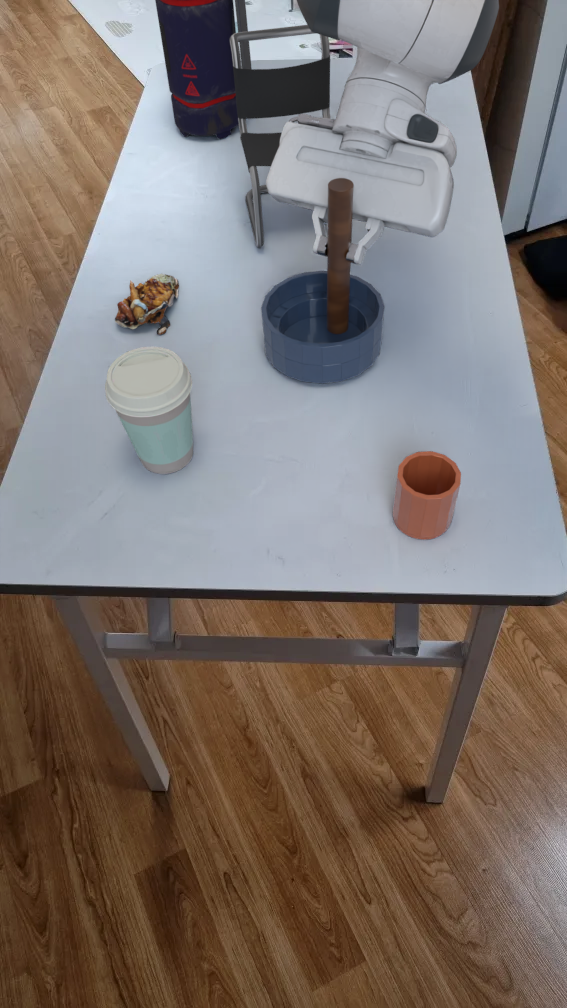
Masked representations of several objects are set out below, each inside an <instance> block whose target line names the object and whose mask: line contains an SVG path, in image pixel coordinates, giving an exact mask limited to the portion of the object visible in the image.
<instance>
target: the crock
mask: <svg viewBox="0 0 567 1008" xmlns="http://www.w3.org/2000/svg"><path fill="white" fill-rule="evenodd" d="M395 483H396V484H395V491H394V498H393V507H392V520H393V523H394V524H395V526H396V527H397V529H398V530H399V531H400V532H401V533H403V534H404V535H406V536H407V537H410V538H413V539H415V540H423V541H424V540H425V541H426V540H433V539H436V538H438V537H440V536H443V534H445V533H446V532H447V531H448V529H449V528H450V526H451V524H452V521H453V518H454V514H455V509H456V505H457V500H458V496H459V492H460V488H461V483H462V472H461V470H460V468H459V467H458V465H457V463H456V462H455V461H454V460H453V459H452V458H450V457H449V456H447V455H445V454H444V453H439V452H436V451H432V450H428V451H427V450H426V451H417V452H414V453H412V454H410V455H407V456H405V458H403V460H402V461H401V462H400V464H398V468H397V475H396V482H395Z"/></svg>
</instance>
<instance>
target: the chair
mask: <svg viewBox="0 0 567 1008" xmlns="http://www.w3.org/2000/svg"><path fill="white" fill-rule="evenodd" d="M312 34H316V33H314V32H311V30H310V28H309V26H308V25H307V24H301V25H300V24H299V25H293V26H284V27H276V28H275V27H274V28H266V29H258V30H257V29H256V30H248V31H247V32H238V31H237V32H236V33H235V34H233V35H232V36H231V37H230V45H231V51H232V59H233V71H234V82H235V93H236V104H237V115H238V122H239V124H238V129H239V135H240V137H239V138H240V142H241V146H242V150H243V154H244V159H245V162H246V166H247V171H248V173H249V178H250V184H251V185H250V186H251V189H249V190H248V192H246V194H245V199H244V200H245V204H246V209H247V212H248V218H249V222H250V226H251V230H252V234H253V239H254V242H255V243H254V244H255V245H256V247H257V248H263V247H264V245H265V235H264V224H263V223H264V221H263V209H262V208H263V207H262V196H261V195H262V194H263V193H269V192H268V189H267V187H266V184H262V185H260V184H261V183H260V178H259V176H260V175H259V172H258V167H266V168H267V167H268V168H269V167H270V168H271V165H272V162H273V160H274V157H275V155H276V152H277V150H278V148H279V146H280V138H281V134H282V131H281V132H264V133H263V132H261V133H260V132H248V126H247V120H252V119H253V120H254V119H255V120H256V119H257V120H258V119H271V118H280V117H289V116H297V115H300V114H309V113H314V112H318V111H321V115H322V118H329V119H331V110H330V107H331V52H330V51H331V50H330V49H331V48H330V39H329V38H330V37H326V36H323V35H320V34H318V35H319V39H320V49H321V58H320V59H318V60H315V61H312V62H307V63H303V64H298V65H293V66H286V67H279V68H261V69H260V68H255V69H254V68H253V69H242V64H241V55H240V45H239V42H244V41H249V42H253V41H261V40H268V39H279V38H286V37H296V36H304V35H312Z"/></svg>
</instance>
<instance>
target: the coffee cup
mask: <svg viewBox="0 0 567 1008" xmlns="http://www.w3.org/2000/svg"><path fill="white" fill-rule="evenodd" d="M192 388H193V378H192V374H191V372H190V370H189V368H188V366H187V364H185V362H183V360H182V358H181V357H180V356H179V354H177V353H176V352H174V351H173V350H171V349H168V348H165V347H161V346H153V345H152V346H151V345H150V346H141V347H136V348H133V349H131V350H128V351H126V352H123V354H120V355H119V356H118V357H117V358H116V359H115V360H114V361H113V362H112V363H111V364H110V365H109V368H108V370H107V372H106V380H105V384H104V390H105V391H104V392H105V398H106V401H107V403H108V404H109V406H110V407H111V408H113V409H114V411H115V412H116V414H117V417H118V418H119V421H120V423H121V425H122V426H123V429H124V431H125V433H126V435H127V437H128V439H129V441H130V442H131V445H132V447H133V448H134V450H135V453H136V455H137V456H138V459H139V461H140V463H141V465H142V466H143V467H144V468H145V469H146V470H148V472H151V473H154V474H159V475H169V474H173V473H177V472H178V471H181V470H182V469H184V468H185V467H186V466H188V464H189V463H190V462H191V460H192V459H193V456H194V438H193V421H192V420H193V419H192V401H191V391H192Z"/></svg>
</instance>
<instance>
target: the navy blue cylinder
mask: <svg viewBox="0 0 567 1008" xmlns="http://www.w3.org/2000/svg"><path fill="white" fill-rule="evenodd" d="M154 2H155V7H156V14H157V20H158V26H159V32H160V39H161V44H162V45H161V46H162V51H163V59H164V65H165V71H166V76H167V83H168V88H169V89H168V90H169V92H170V93H171V94H170V101H171V106H172V112H173V113H172V114H173V120H174V124H175V126H176V128H177V129H178V130H179V132H180V134H181V135H182V136H183V137H184V138H188V137H190V135H192V136H196V137H212V136H215V138H216V139H217V140H222V139H226V138H227V137H229V136H231V135H232V130H233V129H234V128H236V127H237V126H239V122H238V115H237V104H236V93H235V82H234V71H233V59H232V51H231V45H230V37H231V36H232V35H233V34H235V33H238V32H247V31H249V28H248V18H247V17H248V16H247V5H246V0H154ZM234 6H235V7H234ZM235 15H236V19H235ZM236 25H237V29H236ZM238 44H239V50H240V57H241V66H242V69H252V68H253V67H252V59H251V58H252V57H251V47H250V41H244V42H238Z"/></svg>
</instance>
